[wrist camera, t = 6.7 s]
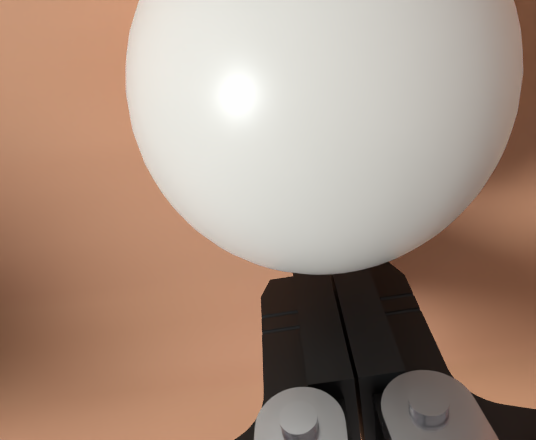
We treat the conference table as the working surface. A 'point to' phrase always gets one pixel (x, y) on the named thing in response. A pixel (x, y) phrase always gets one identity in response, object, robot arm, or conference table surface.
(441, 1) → the white cue ball
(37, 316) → the conference table surface
